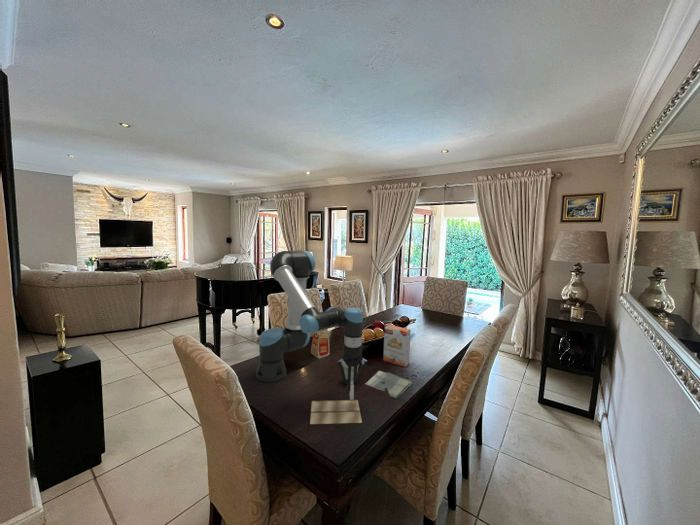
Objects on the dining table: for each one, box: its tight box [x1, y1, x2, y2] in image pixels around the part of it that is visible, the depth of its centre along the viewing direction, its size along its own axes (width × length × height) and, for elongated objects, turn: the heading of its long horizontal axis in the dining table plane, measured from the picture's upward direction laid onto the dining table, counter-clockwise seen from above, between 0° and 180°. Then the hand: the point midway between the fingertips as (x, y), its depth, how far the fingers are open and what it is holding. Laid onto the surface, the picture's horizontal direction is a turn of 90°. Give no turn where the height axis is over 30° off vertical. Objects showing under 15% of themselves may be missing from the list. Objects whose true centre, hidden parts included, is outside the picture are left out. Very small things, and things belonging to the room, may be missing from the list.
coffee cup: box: [343, 362, 360, 385], centre depth 143 cm, size 8×9×12 cm
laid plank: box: [309, 410, 363, 425], centre depth 115 cm, size 20×8×2 cm, turn 95°
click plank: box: [310, 399, 360, 413], centre depth 122 cm, size 20×8×2 cm, turn 95°
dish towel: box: [364, 370, 413, 400], centre depth 143 cm, size 19×18×3 cm
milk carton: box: [310, 329, 330, 359], centre depth 177 cm, size 9×9×20 cm
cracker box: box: [382, 324, 411, 368], centre depth 168 cm, size 14×6×21 cm, turn 55°
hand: (351, 397), depth 124 cm, fingers closed
